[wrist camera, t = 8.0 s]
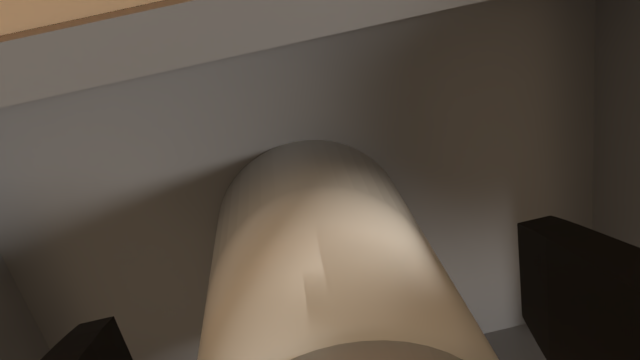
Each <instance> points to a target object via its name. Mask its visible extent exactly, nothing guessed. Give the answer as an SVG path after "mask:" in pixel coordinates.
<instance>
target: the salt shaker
mask: <svg viewBox="0 0 640 360" xmlns="http://www.w3.org/2000/svg"><path fill="white" fill-rule="evenodd" d="M197 360H499V359H498V357H497V355H496V354H495V352H494V350H493V349H492V347H491V345H490V344H489V342H488V340H487V339H486V337H485V335H484V334H483V332H482V330H481V329H480V327H479V325H478V324H477V322H476V320H475V319H474V317H473V315H472V314H471V312H470V310H469V309H468V307H467V305H466V304H465V302H464V300H463V299H462V297H461V295H460V294H459V292H458V290H457V289H456V287H455V285H454V284H453V282H452V280H451V279H450V277H449V275H448V274H447V272H446V270H445V269H444V267H443V265H442V264H441V262H440V260H439V259H438V257H437V255H436V254H435V252H434V250H433V249H432V247H431V245H430V244H429V242H428V240H427V239H426V237H425V235H424V234H423V232H422V230H421V229H420V227H419V225H418V224H417V222H416V220H415V219H414V217H413V215H412V214H411V212H410V210H409V209H408V207H407V205H406V204H405V202H404V200H403V199H402V197H401V195H400V194H399V192H398V190H397V189H396V187H395V185H394V184H393V182H392V180H391V179H390V178H389V176H388V175H387V173H386V172H385V171H384V170H383V169H382V167H381V166H380V165H379V164H378V163H377V162H375V161H374V160H373V159H372V158H370V157H369V156H368V155H366V154H364V153H363V152H361V151H359V150H357V149H355V148H352V147H350V146H348V145H345V144H341V143H337V142H332V141H325V140H304V141H296V142H292V143H288V144H284V145H281V146H278V147H276V148H273V149H271V150H269V151H267V152H265V153H263V154H261V155H260V156H258V157H257V158H255V159H254V160H253V161H251V162H250V163H249V164H248V165H247V166H246V167H244V168H243V169H242V170H241V171H240V173H239V174H238V175H237V176H236V177H235V179H234V180H233V181H232V183H231V185H230V186H229V188H228V189H227V191H226V194H225V196H224V198H223V200H222V204H221V208H220V211H219V217H218V224H217V231H216V238H215V244H214V251H213V258H212V264H211V271H210V278H209V285H208V291H207V298H206V305H205V311H204V318H203V325H202V332H201V338H200V345H199V352H198V358H197Z"/></svg>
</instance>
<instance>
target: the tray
mask: <svg viewBox="0 0 640 360" xmlns="http://www.w3.org/2000/svg"><path fill="white" fill-rule="evenodd" d="M304 140H325V141H332V142H337V143H341V144H345V145H348V146H350V147H352V148H355V149H357V150H359V151H361V152H363V153H364V154H366V155H368V156H369V157H370V158H372V159H373V160H374V161H375V162H377V163H378V164H379V165H380V166H381V167H382V169H383V170H384V171H385V172H386V173H387V175H388V176H389V178H390V179H391V180H392V182H393V184H394V185H395V187H396V189H397V190H398V192H399V194H400V195H401V197H402V199H403V200H404V202H405V204H406V205H407V207H408V209H409V210H410V212H411V214H412V215H413V217H414V219H415V220H416V222H417V224H418V225H419V227H420V229H421V230H422V232H423V234H424V235H425V237H426V239H427V240H428V242H429V244H430V245H431V247H432V249H433V250H434V252H435V254H436V255H437V257H438V259H439V260H440V262H441V264H442V265H443V267H444V269H445V270H446V272H447V274H448V275H449V277H450V279H451V280H452V282H453V284H454V285H455V287H456V289H457V290H458V292H459V294H460V295H461V297H462V299H463V300H464V302H465V304H466V305H467V307H468V309H469V310H470V312H471V314H472V315H473V317H474V319H475V320H476V322H477V324H478V325H479V327H480V329H481V330H482V332H483V334H484V335H485V337H486V339H487V340H488V342H489V344H490V345H491V347H492V349H493V350H494V352H495V354H496V355H497V357H498V359H499V360H546V358H545V356H544V355H543V353H542V351H541V350H540V348H539V346H538V344H537V343H536V341H535V339H534V337H533V335H532V333H531V332H530V330H529V328H528V326H527V324H526V322H525V321H524V319H523V317H522V306H521V287H520V268H519V249H518V230H517V223H520V222H524V221H529V220H533V219H537V218H542V217H546V216H550V215H551V216H555V217H558V218H561V219H564V220H567V221H570V222H573V223H576V224H579V225H581V226H584V227H587V228H589V229H592V230H595V231H597V232H600V233H603V234H605V235H608V236H610V237H613V238H616V239H618V240H621V241H623V242H626V243H629V244H631V245H634V246H637V247H639V248H640V0H163V1H159V2H154V3H150V4H145V5H140V6H136V7H131V8H127V9H122V10H117V11H113V12H108V13H104V14H99V15H94V16H90V17H85V18H81V19H76V20H71V21H67V22H62V23H58V24H53V25H48V26H44V27H39V28H35V29H30V30H25V31H21V32H16V33H12V34H7V35H2V36H0V360H40V359H42V358H43V357H44V356H45V355H46V354H47V353H48V352H49V351H50V350H51V349H52V348H53V347H54V346H55V345H56V344H57V343H58V342H59V341H60V340H61V339H62V338H63V337H65V336H66V335H67V334H68V333H69V332H70V331H71V330H73V329H74V328H75V327H76V326H77V325H79V324H81V323H86V322H90V321H94V320H99V319H103V318H107V317H112V316H114V318H115V320H116V322H117V325H118V327H119V329H120V331H121V334H122V336H123V338H124V341H125V343H126V345H127V347H128V350H129V352H130V354H131V356H132V359H133V360H197V358H198V352H199V345H200V338H201V332H202V325H203V318H204V311H205V305H206V298H207V291H208V285H209V278H210V271H211V264H212V258H213V251H214V244H215V238H216V231H217V224H218V217H219V211H220V208H221V204H222V200H223V198H224V196H225V194H226V191H227V189H228V188H229V186H230V185H231V183H232V181H233V180H234V179H235V177H236V176H237V175H238V174H239V173H240V171H241V170H242V169H243V168H244V167H246V166H247V165H248V164H249V163H250V162H251V161H253V160H254V159H255V158H257V157H258V156H260V155H261V154H263V153H265V152H267V151H269V150H271V149H273V148H276V147H278V146H281V145H284V144H288V143H292V142H296V141H304Z"/></svg>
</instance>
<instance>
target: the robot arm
mask: <svg viewBox="0 0 640 360" xmlns="http://www.w3.org/2000/svg"><path fill="white" fill-rule="evenodd" d="M517 230H518V249H519V268H520V287H521V306H522V317H523V319H524V321H525V322H526V324H527V326H528V328H529V330H530V332H531V333H532V335H533V337H534V339H535V341H536V343H537V344H538V346H539V348H540V350H541V351H542V353H543V355H544V356H545V358H546V360H640V248H639V247H637V246H634V245H631V244H629V243H626V242H623V241H621V240H618V239H616V238H613V237H610V236H608V235H605V234H603V233H600V232H597V231H595V230H592V229H589V228H587V227H584V226H581V225H579V224H576V223H573V222H570V221H567V220H564V219H561V218H558V217H555V216H551V215H550V216H546V217H542V218H537V219H533V220H529V221H524V222H520V223H517ZM40 360H133V359H132V356H131V354H130V352H129V350H128V347H127V345H126V343H125V341H124V338H123V336H122V334H121V331H120V329H119V327H118V325H117V322H116V320H115V318H114V316H112V317H107V318H103V319H99V320H94V321H90V322H86V323H81V324H79V325H77V326H76V327H75V328H74V329H73V330H71V331H70V332H69V333H68V334H67V335H66V336H65V337H63V338H62V339H61V340H60V341H59V342H58V343H57V344H56V345H55V346H54V347H53V348H52V349H51V350H50V351H49V352H48V353H47V354H46V355H45V356H44V357H43V358H42V359H40Z"/></svg>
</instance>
